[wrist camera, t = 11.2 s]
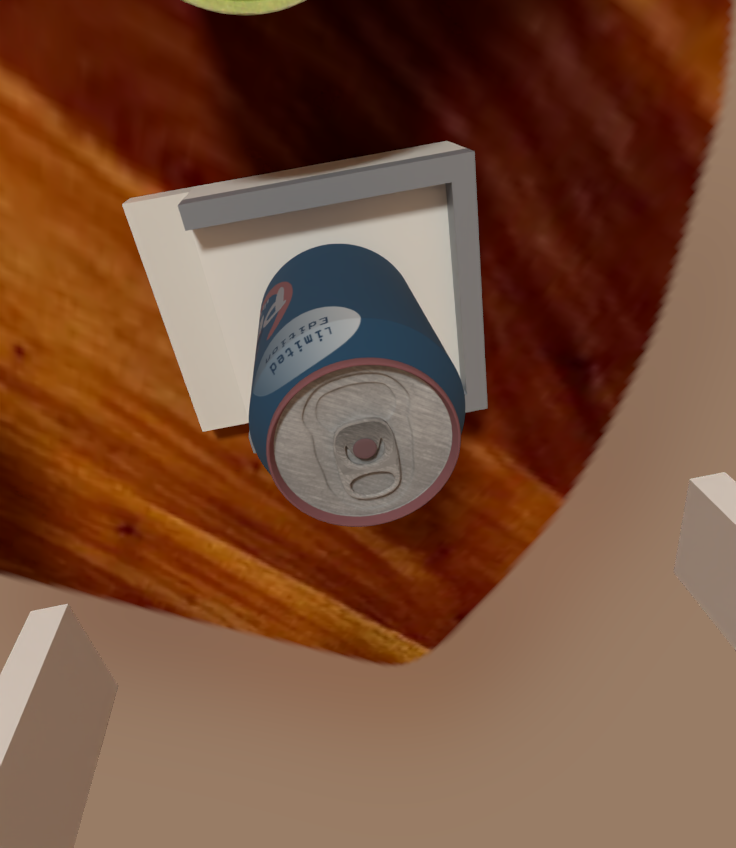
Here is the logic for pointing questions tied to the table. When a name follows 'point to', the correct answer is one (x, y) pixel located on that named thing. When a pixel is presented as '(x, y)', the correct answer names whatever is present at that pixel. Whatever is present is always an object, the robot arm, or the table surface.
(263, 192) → the dock
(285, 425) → the soda can
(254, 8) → the plant pot
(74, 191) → the table surface
